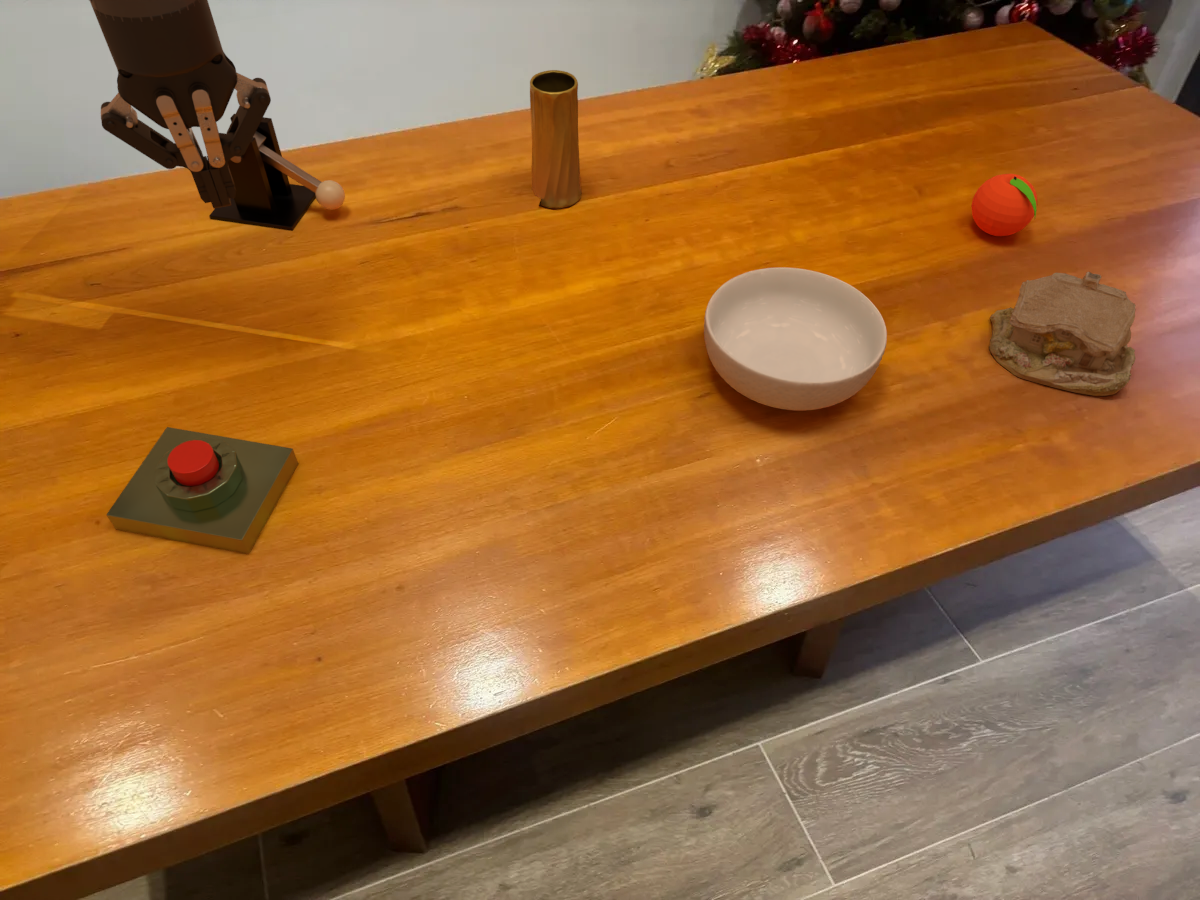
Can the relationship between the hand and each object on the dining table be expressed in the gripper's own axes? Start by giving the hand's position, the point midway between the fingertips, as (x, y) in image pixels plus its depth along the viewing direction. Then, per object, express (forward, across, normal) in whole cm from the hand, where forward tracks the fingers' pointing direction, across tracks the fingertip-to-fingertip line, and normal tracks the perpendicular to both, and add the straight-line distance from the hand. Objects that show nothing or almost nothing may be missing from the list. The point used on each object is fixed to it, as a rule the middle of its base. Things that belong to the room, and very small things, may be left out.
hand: (221, 201), depth 76 cm
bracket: (+18, -3, -25) cm, 31 cm away
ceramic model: (+18, -74, +26) cm, 81 cm away
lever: (+13, -6, -23) cm, 27 cm away
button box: (+18, +8, +16) cm, 25 cm away
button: (+14, +8, +16) cm, 23 cm away
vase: (+18, -36, -17) cm, 43 cm away
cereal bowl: (+18, -47, +20) cm, 54 cm away
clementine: (+18, -82, +7) cm, 84 cm away
